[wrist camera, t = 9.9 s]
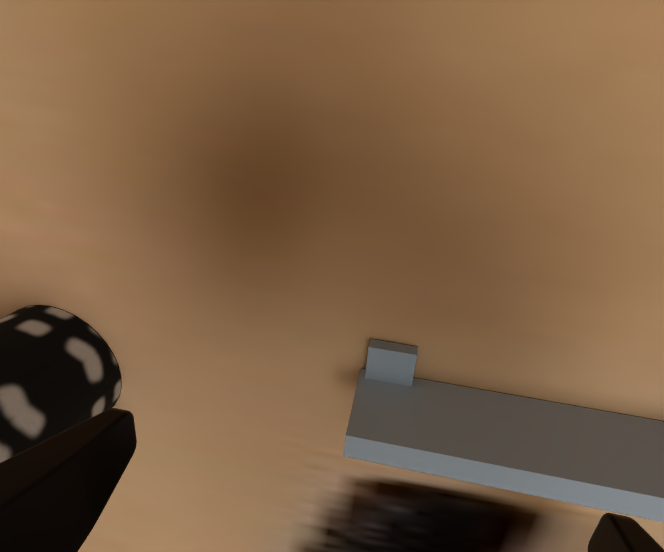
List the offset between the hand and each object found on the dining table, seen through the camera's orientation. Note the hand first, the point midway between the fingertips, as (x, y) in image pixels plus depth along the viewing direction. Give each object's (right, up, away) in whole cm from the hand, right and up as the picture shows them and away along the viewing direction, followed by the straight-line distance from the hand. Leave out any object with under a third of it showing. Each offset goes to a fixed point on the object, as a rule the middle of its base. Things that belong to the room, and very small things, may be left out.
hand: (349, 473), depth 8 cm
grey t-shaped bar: (+10, -3, +14) cm, 17 cm away
